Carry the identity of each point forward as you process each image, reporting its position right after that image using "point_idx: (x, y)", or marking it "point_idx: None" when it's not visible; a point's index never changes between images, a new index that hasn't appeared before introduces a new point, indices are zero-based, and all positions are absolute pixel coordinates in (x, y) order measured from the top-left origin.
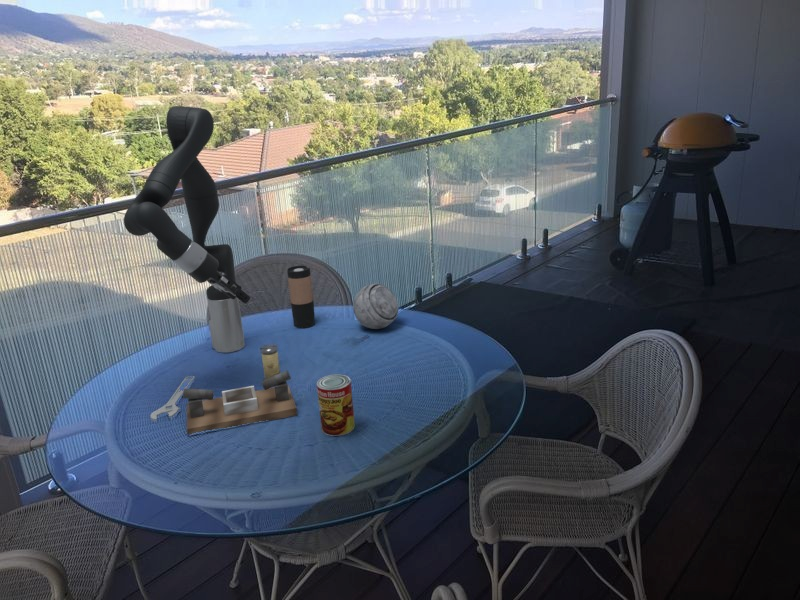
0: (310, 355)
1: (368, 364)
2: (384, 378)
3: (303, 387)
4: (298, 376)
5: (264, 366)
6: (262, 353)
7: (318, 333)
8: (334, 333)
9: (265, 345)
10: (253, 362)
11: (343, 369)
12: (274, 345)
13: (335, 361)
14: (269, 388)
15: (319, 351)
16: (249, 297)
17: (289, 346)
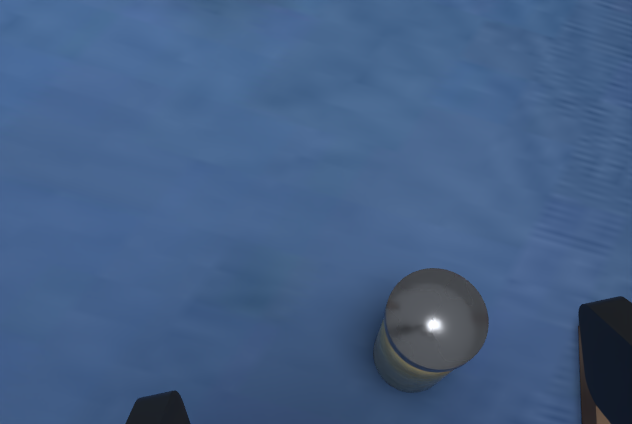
0: (249, 147)
1: (458, 8)
2: (600, 5)
3: (558, 261)
4: (437, 248)
5: (440, 378)
6: (456, 368)
7: (43, 58)
8: (91, 12)
9: (387, 325)
10: (161, 389)
11: (458, 87)
12: (416, 278)
13: (367, 88)
14: (596, 408)
15: (232, 107)
16: (622, 304)
17: (92, 193)
